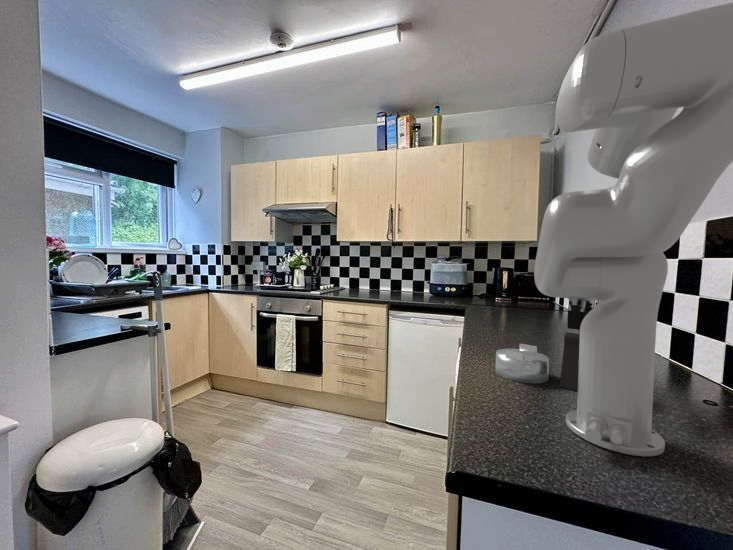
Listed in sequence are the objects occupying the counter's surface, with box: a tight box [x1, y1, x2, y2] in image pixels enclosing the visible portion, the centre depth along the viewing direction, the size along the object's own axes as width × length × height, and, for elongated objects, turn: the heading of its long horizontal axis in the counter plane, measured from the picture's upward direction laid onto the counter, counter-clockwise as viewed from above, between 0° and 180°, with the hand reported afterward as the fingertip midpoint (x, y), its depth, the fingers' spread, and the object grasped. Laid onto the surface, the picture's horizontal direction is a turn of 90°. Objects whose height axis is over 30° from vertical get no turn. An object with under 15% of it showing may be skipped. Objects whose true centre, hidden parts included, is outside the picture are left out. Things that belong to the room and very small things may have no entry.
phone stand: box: [559, 332, 580, 393], centre depth 71 cm, size 9×6×12 cm, turn 135°
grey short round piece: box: [495, 343, 550, 384], centre depth 78 cm, size 12×12×7 cm
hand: (580, 325), depth 71 cm, fingers open, 9 cm apart
